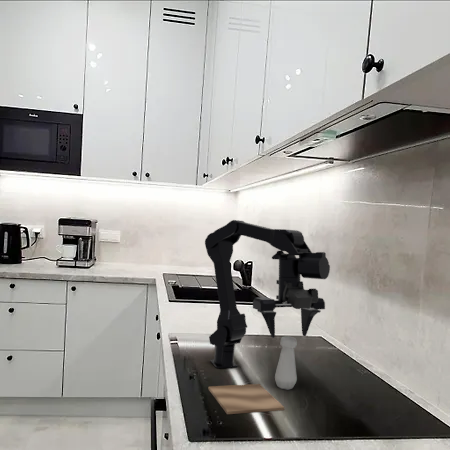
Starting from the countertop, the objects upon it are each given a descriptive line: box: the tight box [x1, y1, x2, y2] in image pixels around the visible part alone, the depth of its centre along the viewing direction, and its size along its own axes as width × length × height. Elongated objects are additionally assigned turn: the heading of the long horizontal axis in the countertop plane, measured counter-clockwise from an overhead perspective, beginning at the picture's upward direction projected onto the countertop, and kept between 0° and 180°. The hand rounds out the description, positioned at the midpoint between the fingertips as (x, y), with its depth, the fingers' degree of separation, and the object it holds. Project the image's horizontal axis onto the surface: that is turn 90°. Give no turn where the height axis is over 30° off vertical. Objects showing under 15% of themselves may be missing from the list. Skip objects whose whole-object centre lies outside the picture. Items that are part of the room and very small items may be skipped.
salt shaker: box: [274, 335, 298, 391], centre depth 111 cm, size 6×6×13 cm
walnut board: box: [207, 383, 285, 415], centre depth 100 cm, size 14×14×1 cm
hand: (288, 336), depth 110 cm, fingers open, 9 cm apart
